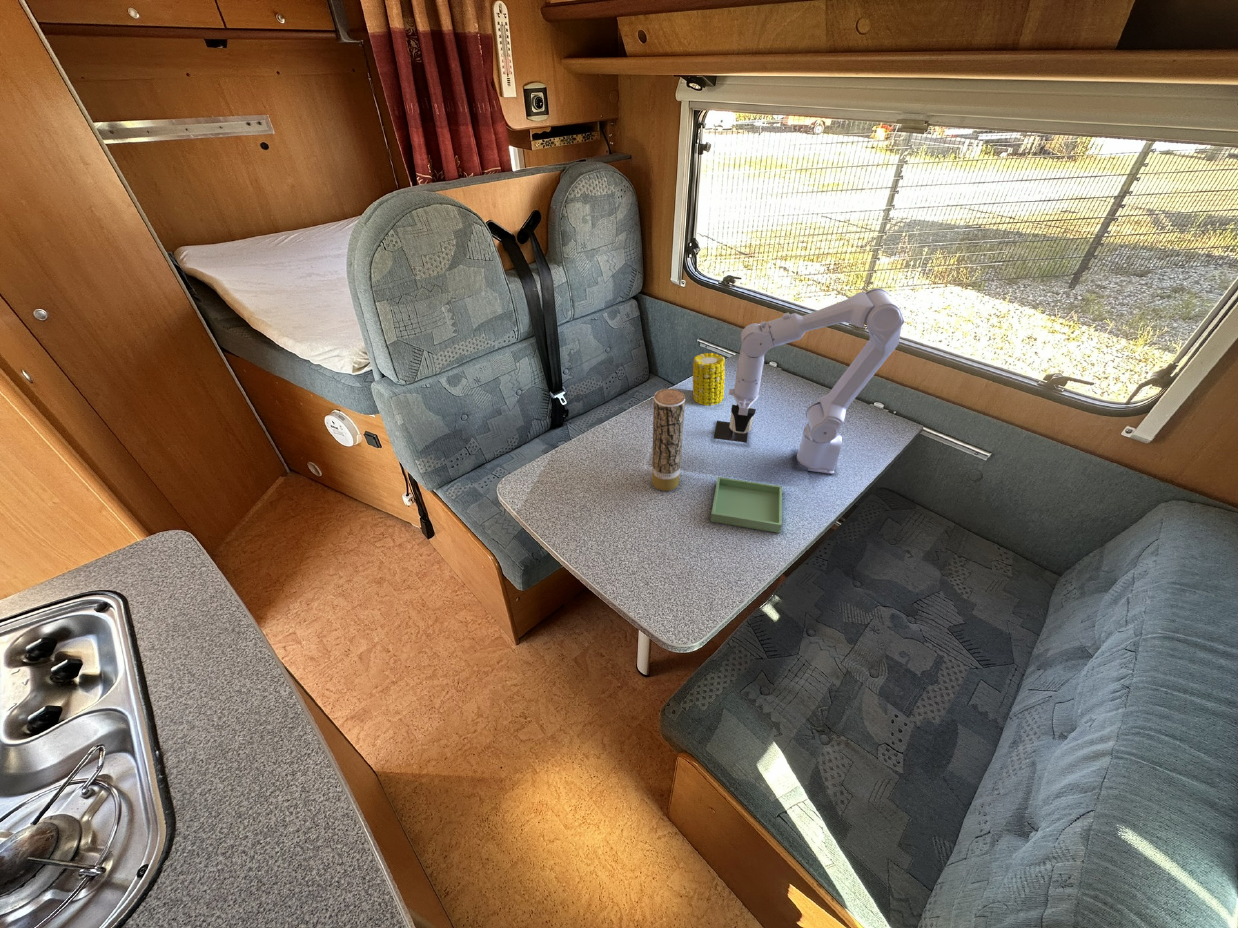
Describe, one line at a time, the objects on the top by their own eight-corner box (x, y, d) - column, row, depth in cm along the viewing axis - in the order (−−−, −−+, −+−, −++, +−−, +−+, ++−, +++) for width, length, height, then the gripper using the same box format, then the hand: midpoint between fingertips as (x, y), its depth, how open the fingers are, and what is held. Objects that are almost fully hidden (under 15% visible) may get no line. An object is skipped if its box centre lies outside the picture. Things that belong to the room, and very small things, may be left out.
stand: (748, 427, 141) (752, 402, 135) (746, 445, 134) (750, 420, 129) (716, 423, 142) (719, 398, 137) (713, 441, 136) (716, 416, 131)
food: (705, 415, 149) (687, 401, 156) (737, 398, 151) (717, 385, 158) (698, 373, 139) (679, 360, 146) (732, 355, 141) (711, 343, 148)
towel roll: (752, 422, 126) (754, 406, 122) (750, 434, 122) (753, 417, 118) (730, 420, 127) (733, 403, 124) (728, 431, 123) (730, 414, 120)
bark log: (677, 493, 119) (683, 406, 104) (649, 490, 120) (651, 403, 105) (680, 476, 124) (686, 390, 109) (653, 473, 126) (656, 387, 110)
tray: (780, 493, 118) (782, 486, 117) (779, 533, 109) (781, 525, 107) (716, 484, 122) (717, 476, 120) (710, 521, 112) (711, 513, 110)
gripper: (734, 360, 121) (727, 407, 130) (728, 389, 111) (721, 438, 119) (763, 363, 120) (755, 410, 128) (760, 393, 109) (751, 442, 117)
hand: (741, 424), depth 124 cm, fingers closed on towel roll, 5 cm apart
